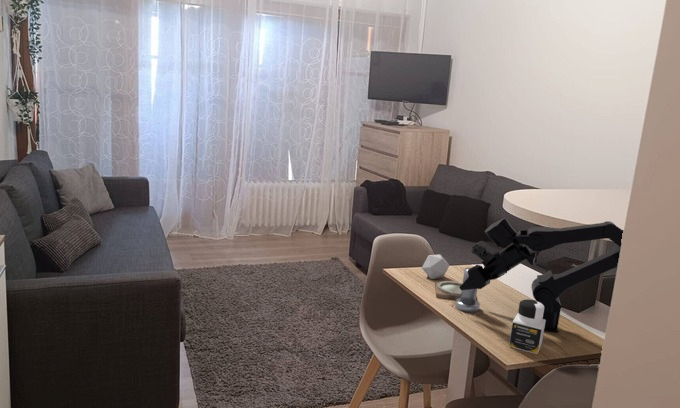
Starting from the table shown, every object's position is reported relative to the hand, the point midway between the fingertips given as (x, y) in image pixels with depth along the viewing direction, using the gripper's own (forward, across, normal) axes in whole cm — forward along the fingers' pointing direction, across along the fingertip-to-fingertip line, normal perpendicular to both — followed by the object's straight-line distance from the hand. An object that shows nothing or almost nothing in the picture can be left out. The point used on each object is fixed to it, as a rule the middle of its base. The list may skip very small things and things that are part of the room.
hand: (466, 285), depth 166 cm
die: (+19, -19, -8) cm, 28 cm away
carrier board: (+10, -9, 0) cm, 14 cm away
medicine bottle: (-11, +13, +21) cm, 27 cm away
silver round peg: (+4, 0, +6) cm, 7 cm away
